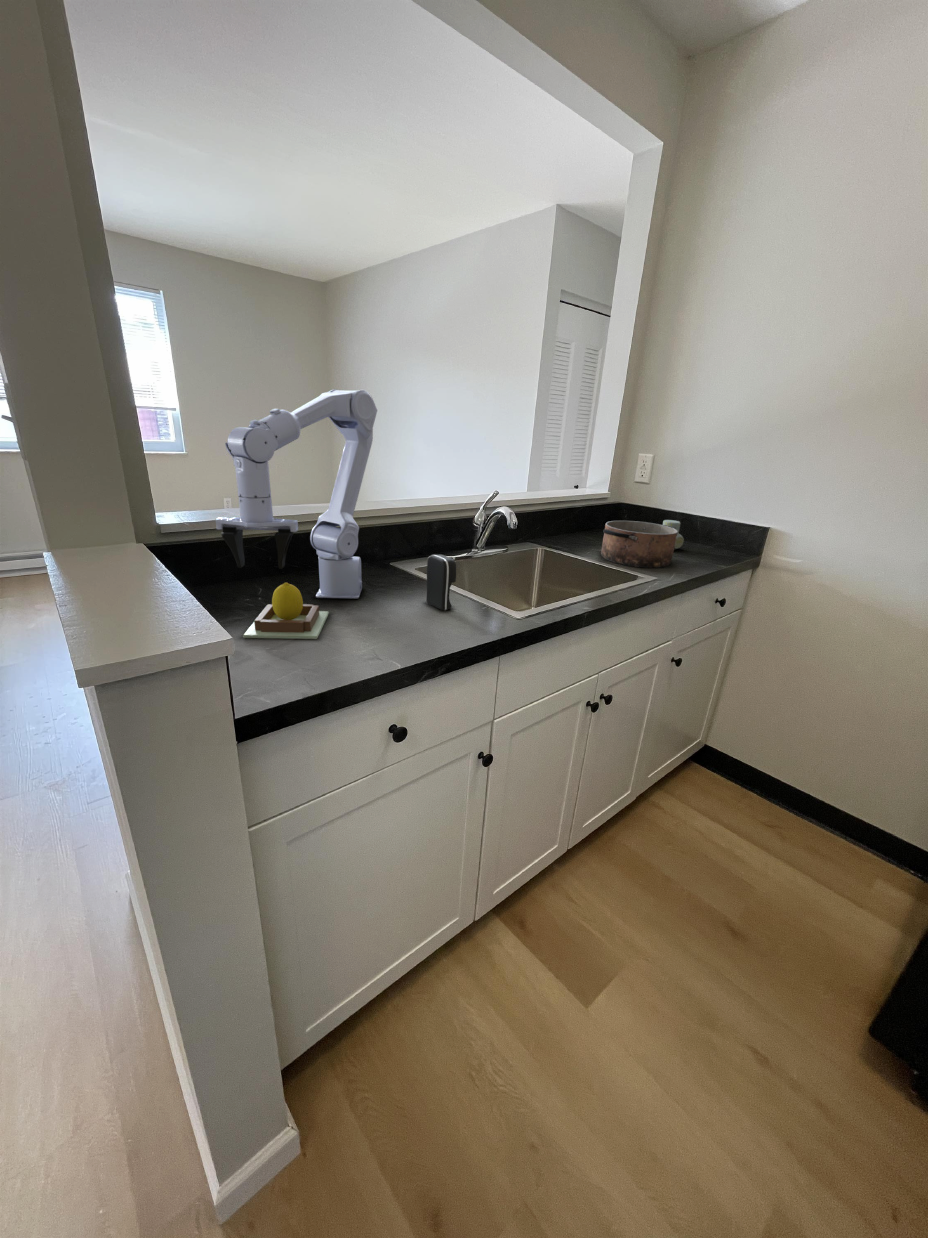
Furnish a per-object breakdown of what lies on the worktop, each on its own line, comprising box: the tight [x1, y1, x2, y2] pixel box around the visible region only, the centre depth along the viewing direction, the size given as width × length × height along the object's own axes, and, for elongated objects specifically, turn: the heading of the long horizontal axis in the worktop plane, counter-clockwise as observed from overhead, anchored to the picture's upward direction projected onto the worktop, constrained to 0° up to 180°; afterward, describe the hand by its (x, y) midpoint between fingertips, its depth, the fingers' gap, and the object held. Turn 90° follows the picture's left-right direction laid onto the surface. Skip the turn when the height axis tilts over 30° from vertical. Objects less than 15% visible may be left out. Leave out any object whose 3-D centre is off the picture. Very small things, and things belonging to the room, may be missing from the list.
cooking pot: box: [600, 520, 678, 569], centre depth 162 cm, size 30×22×11 cm
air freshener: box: [662, 519, 685, 551], centre depth 182 cm, size 11×8×10 cm
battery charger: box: [425, 554, 457, 611], centre depth 109 cm, size 7×4×11 cm, turn 37°
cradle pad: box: [242, 603, 330, 640], centre depth 95 cm, size 13×13×3 cm
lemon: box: [271, 582, 304, 620], centre depth 94 cm, size 6×6×8 cm
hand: (261, 566), depth 97 cm, fingers open, 7 cm apart
